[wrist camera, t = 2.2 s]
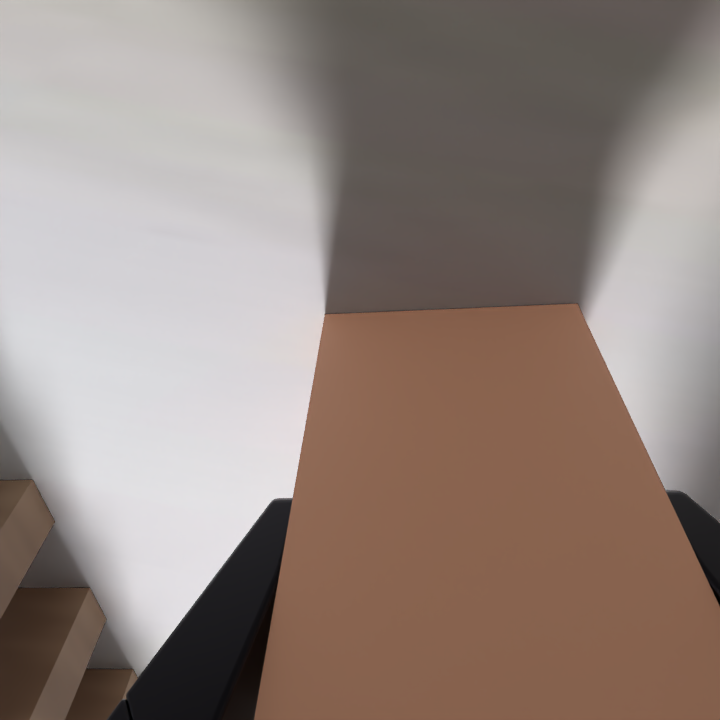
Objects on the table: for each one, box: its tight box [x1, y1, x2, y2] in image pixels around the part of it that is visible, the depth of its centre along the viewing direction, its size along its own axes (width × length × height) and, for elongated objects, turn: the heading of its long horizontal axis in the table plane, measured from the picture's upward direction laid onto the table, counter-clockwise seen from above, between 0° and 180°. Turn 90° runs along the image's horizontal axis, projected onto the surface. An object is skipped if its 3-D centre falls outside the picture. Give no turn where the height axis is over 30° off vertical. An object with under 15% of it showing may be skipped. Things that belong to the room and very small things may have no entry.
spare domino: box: [254, 304, 720, 720], centre depth 10 cm, size 5×2×8 cm, turn 94°
